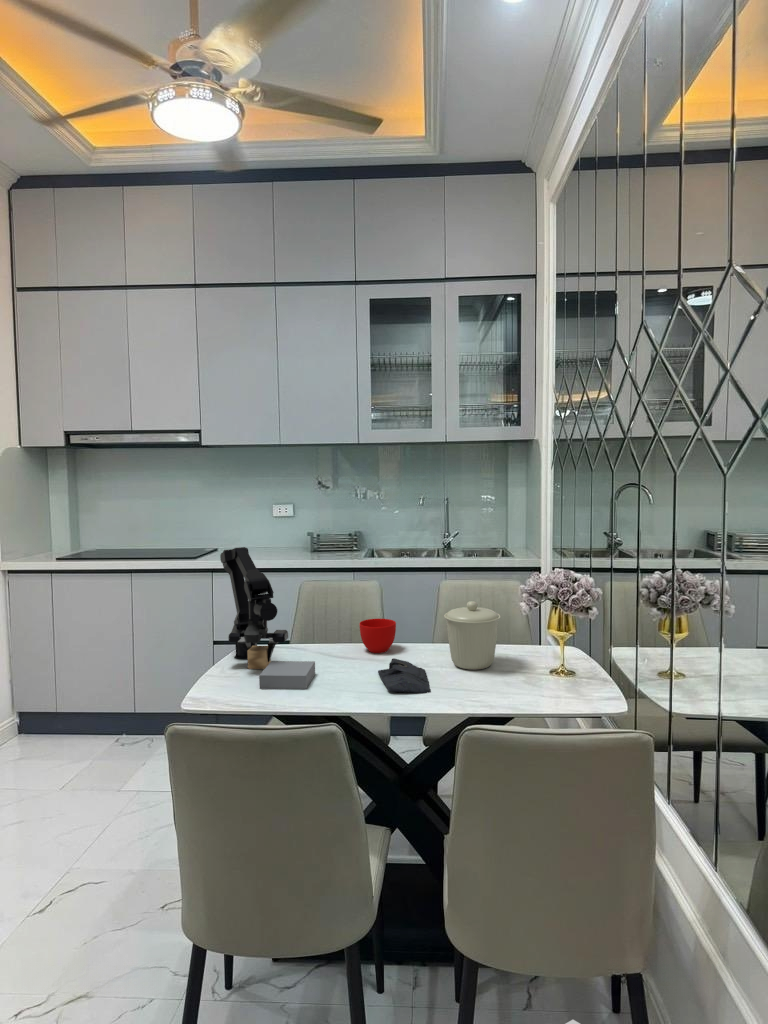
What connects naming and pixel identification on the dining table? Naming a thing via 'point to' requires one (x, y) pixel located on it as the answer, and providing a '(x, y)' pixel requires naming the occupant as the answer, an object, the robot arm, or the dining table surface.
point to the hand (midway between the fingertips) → (259, 661)
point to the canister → (472, 636)
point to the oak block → (258, 657)
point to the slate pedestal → (287, 675)
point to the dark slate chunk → (405, 677)
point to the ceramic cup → (377, 634)
